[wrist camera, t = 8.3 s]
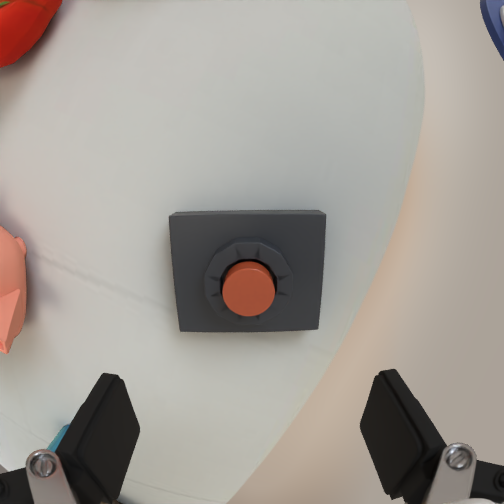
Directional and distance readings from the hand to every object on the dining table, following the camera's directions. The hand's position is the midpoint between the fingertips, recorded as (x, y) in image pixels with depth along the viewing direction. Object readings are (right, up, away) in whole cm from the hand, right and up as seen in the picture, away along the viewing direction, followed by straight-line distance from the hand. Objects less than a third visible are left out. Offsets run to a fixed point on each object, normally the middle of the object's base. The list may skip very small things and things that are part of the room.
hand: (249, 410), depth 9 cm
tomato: (-26, +32, +8) cm, 42 cm away
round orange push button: (0, +3, +12) cm, 13 cm away
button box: (0, +4, +16) cm, 16 cm away
